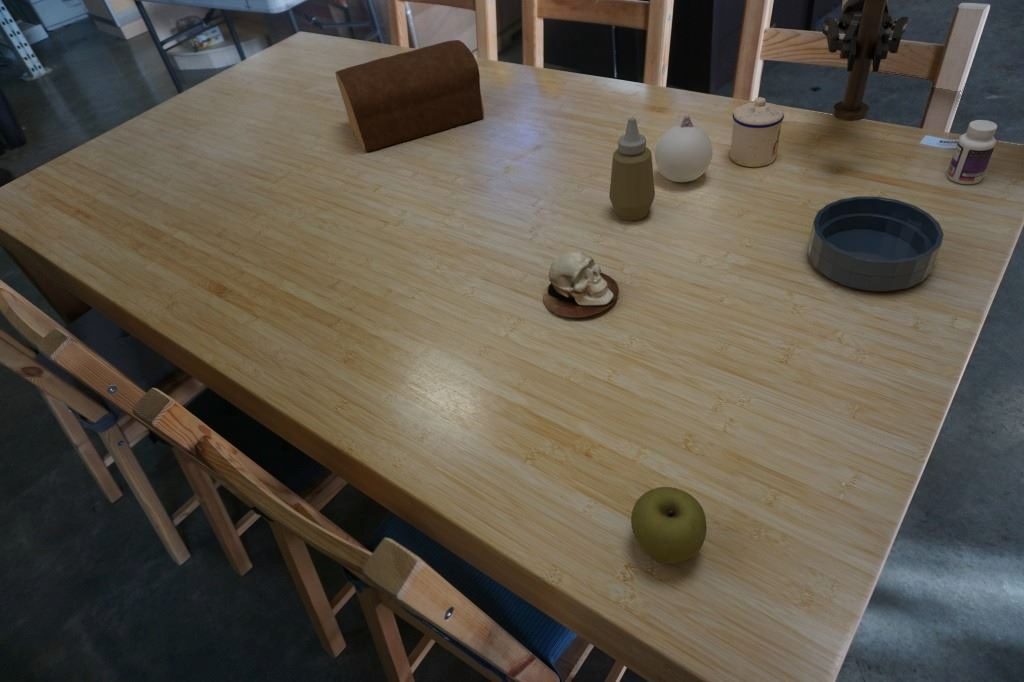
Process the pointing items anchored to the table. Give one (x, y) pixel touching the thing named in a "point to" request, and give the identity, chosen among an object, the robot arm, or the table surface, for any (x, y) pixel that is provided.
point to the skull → (578, 286)
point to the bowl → (874, 243)
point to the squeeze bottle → (632, 175)
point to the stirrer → (861, 63)
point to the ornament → (683, 152)
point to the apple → (668, 524)
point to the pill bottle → (973, 153)
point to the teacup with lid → (756, 133)
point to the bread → (411, 94)
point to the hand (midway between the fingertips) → (864, 62)
